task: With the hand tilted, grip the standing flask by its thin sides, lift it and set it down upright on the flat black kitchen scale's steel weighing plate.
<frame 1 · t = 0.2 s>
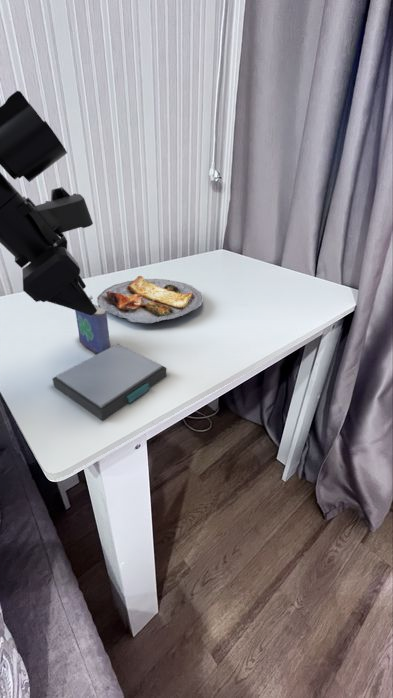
hand: (88, 299, 49), 14 cm above the table, tool tilted 35°, fingers open, 9 cm apart
scale: (112, 381, 56), on the table
flask: (94, 347, 65), on the table
food plate: (150, 305, 82), on the table
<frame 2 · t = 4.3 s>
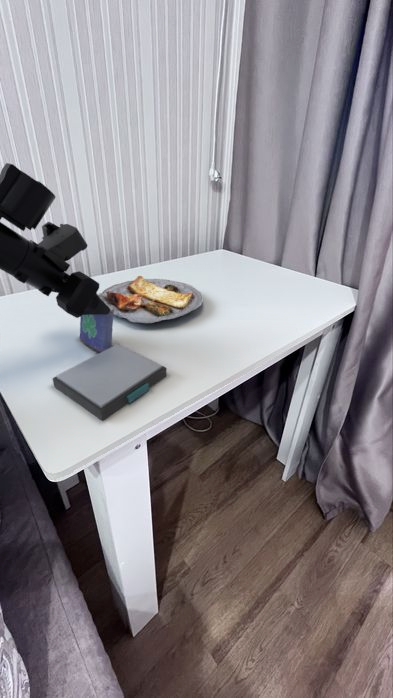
hand: (95, 302, 61), 9 cm above the table, tool tilted 45°, fingers closed on flask, 9 cm apart
flask: (94, 346, 65), on the table, touching gripper
everything else where it was.
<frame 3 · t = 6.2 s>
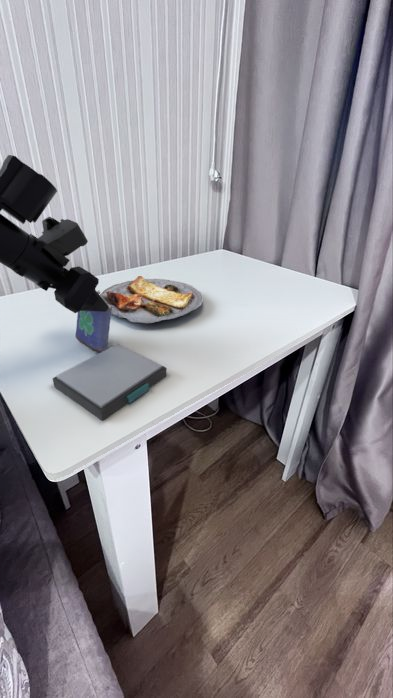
hand: (94, 300, 60), 10 cm above the table, tool tilted 45°, fingers closed on flask, 9 cm apart
flask: (90, 344, 64), point 1 cm above the table, touching gripper
everything else where it was.
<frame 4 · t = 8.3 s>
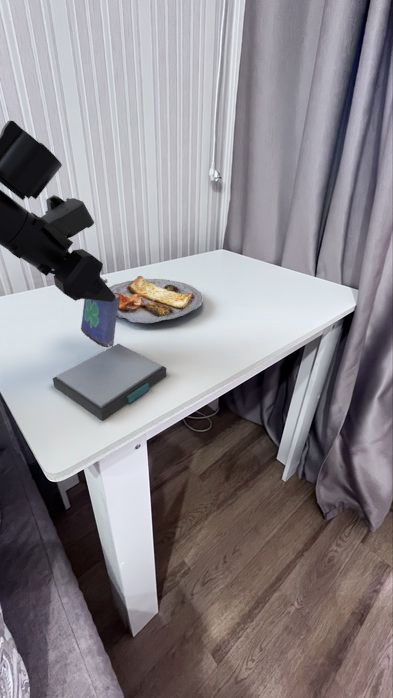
hand: (100, 289, 55), 13 cm above the table, tool tilted 45°, fingers closed on flask, 9 cm apart
flask: (95, 337, 59), point 5 cm above the table, touching gripper
everything else where it was.
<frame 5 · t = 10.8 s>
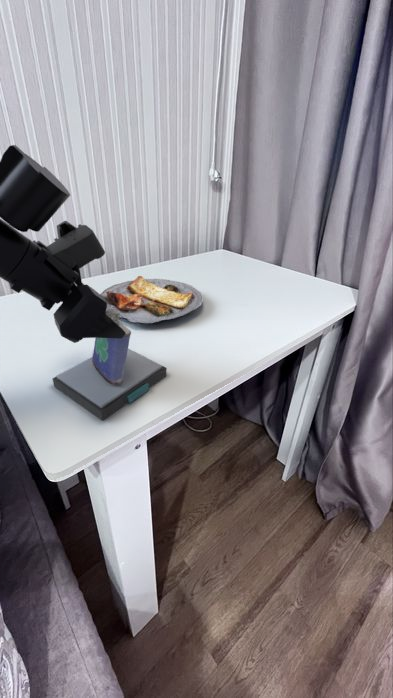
hand: (112, 321, 50), 11 cm above the table, tool tilted 45°, fingers closed on flask, 9 cm apart
flask: (105, 371, 54), point 2 cm above the table, touching gripper, scale
everything else where it was.
when the fingers open (11 cm above the table, at t = 12.8 s): flask stays where it is, resting on scale.
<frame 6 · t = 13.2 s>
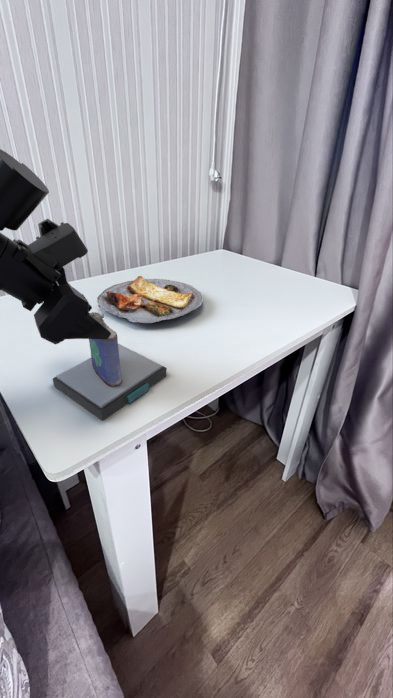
hand: (98, 322, 49), 12 cm above the table, tool tilted 45°, fingers open, 9 cm apart
flask: (105, 373, 54), point 2 cm above the table, touching gripper, scale
everything else where it was.
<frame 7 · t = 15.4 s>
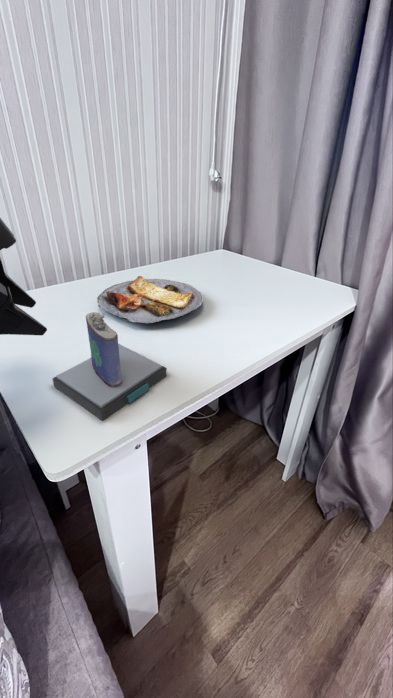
hand: (39, 317, 47), 13 cm above the table, tool tilted 45°, fingers open, 9 cm apart
flask: (105, 373, 54), point 2 cm above the table, touching scale
everything else where it was.
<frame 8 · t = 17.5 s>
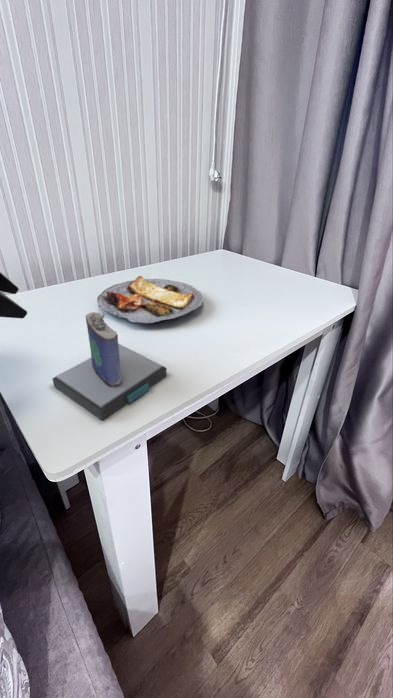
hand: (21, 302, 49), 14 cm above the table, tool tilted 45°, fingers open, 9 cm apart
nothing on the table moved.
at the end: flask inside the target area on the scale (0.9 cm from its centre), point 2.1 cm above the scale's base; flask tilted 0°; the gripper is holding nothing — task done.
